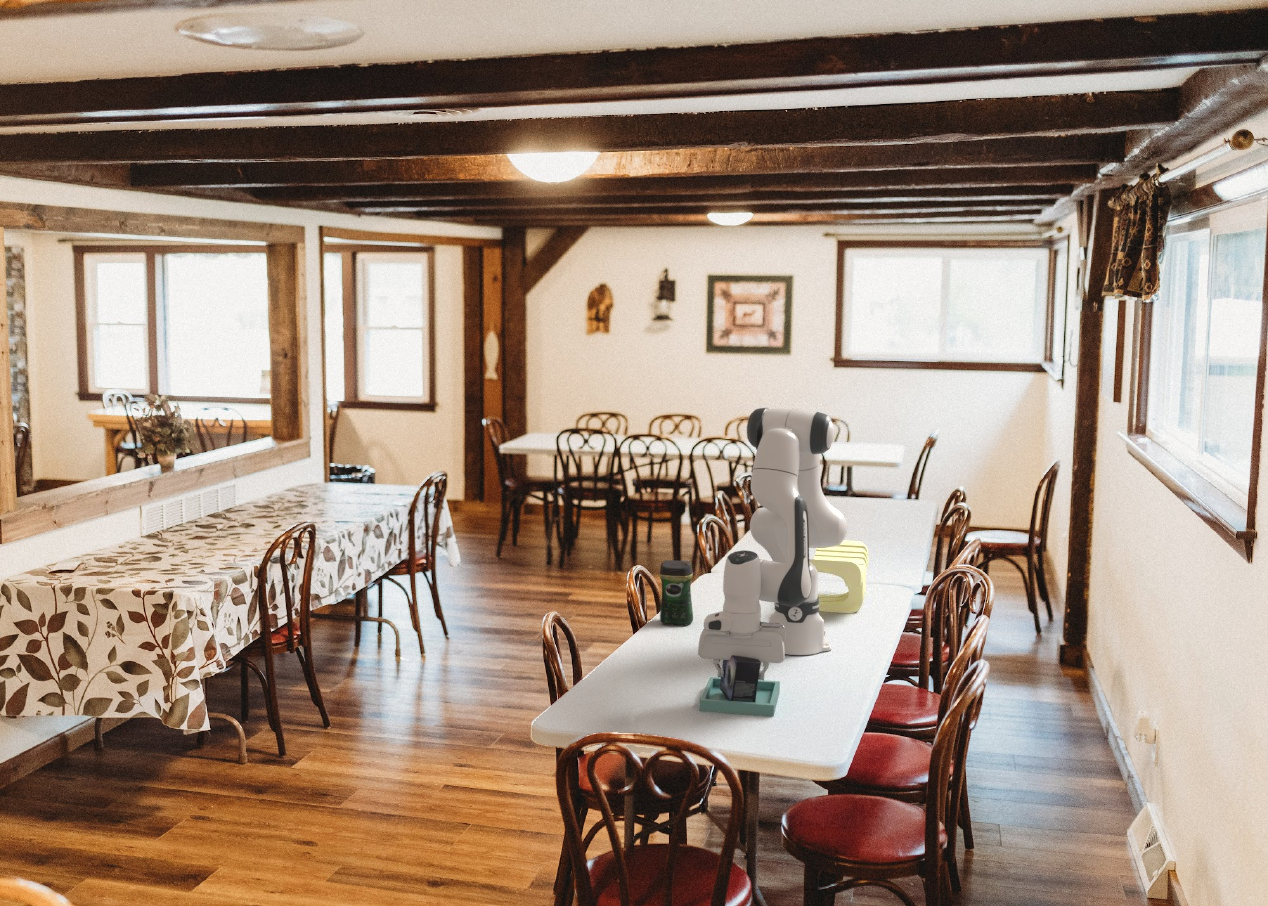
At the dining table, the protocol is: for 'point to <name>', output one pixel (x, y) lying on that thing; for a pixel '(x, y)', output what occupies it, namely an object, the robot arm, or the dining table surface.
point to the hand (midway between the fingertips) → (741, 678)
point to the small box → (740, 678)
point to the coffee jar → (676, 593)
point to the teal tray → (719, 703)
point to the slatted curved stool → (843, 574)
